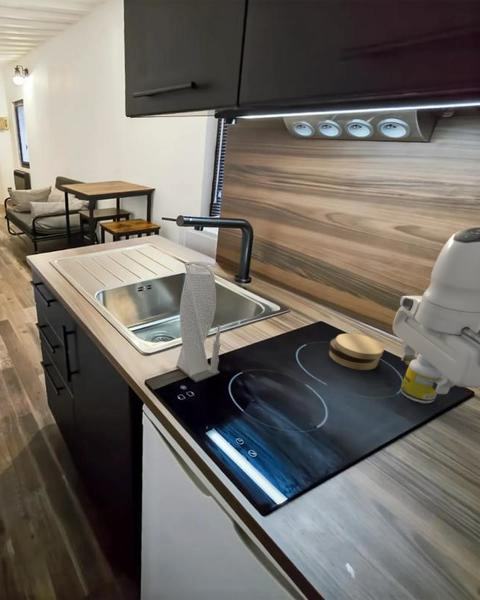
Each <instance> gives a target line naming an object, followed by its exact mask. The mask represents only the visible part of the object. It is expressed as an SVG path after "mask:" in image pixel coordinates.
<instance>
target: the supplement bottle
mask: <svg viewBox="0 0 480 600" xmlns="http://www.w3.org/2000/svg"><path fill="white" fill-rule="evenodd" d="M416 357H417V359H415V360H412V361H411V362H410V364H409V365H408V366H407V369H406V372H405V375H404V378H403V379H402V382H401V385H400V389H399V391H400V393H401V394H402V395H403V396H404V397H405V396H406V398H407V399H408V400H410V401H414V402H416V403H420V404H430V403H433V402H434V401H435V400H436V397H437V395H438V393H437V392H436V391H434V390H433V389H432V386H433V383H434V381H436V382H441V381H442V380H444V379H442V378H441V377H442V375H443V374H442V373H441V372H440V371H438V370H437V369H436V368H435V367H434V366H432V365H431V364H430V363H429V362H428V361H426V360H425V359H424V358H423V357H422V356H421V355H420V354H418V353H417V355H416Z"/></svg>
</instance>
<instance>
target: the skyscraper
mask: <svg viewBox="0 0 480 600" xmlns="http://www.w3.org/2000/svg"><path fill="white" fill-rule="evenodd" d="M184 268H185V271H186V275H185V278H184V283H183V287H182V291H181V298H180V304H179V305H180V306H179V326H180V327H179V329H180V338H181V344H182V345H181V348H180V351H179V355H178V358H177V361H176V366H175V367H176V368H177V369H179V370H180V371H181V372H182V373H184V374H185V375H186V376H187V377H188V378H189V379H191V380H193V381H194V382H195V383H198V382H200V381H203V380H206V379H208V378H210V377H214V376H216V375H218V374H220V371H219V370H218V366H219V362H220V359H219V357H220V356H219V353H220V349H221V344H222V343H221V342H220V337H221V332H220V328H221V325H220V324H219V325H217V331H216V332H215V340H214V341H213V344H212V345H213V346H212V355H211V357H210V364H209V363H208V360H207V359H208V358H207V353H206V349H205V342H206V340H207V337H208V335H209V333H210V330H211V328H212V325H213V323H214V318H215V314H216V308H217V289H216V279H215V274H214V269H215V265H214V264H213V263H212V262H211V263H210V262H205V261H188V262H185V263H184Z"/></svg>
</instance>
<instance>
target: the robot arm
mask: <svg viewBox="0 0 480 600" xmlns="http://www.w3.org/2000/svg"><path fill="white" fill-rule="evenodd" d="M399 305H400V307H398V309H397V310H396V314H395V316H394V319H393V322H392V332H393V334H394V335H395V336H397V338H399V339H400V340H401V341H402V343H401V346H402V356H401V360H400V361H402V362H403V363H404V364H405V365H407V366H409V364H410V362H411V361H412V360H415V359H417V356H416V353H417V355H418V354H420V355H421V356H422V357H423V358H424V359H425V360H426V361H428V362H429V363H430V364H431V365H432V366H434V367H435V368H436V369H437V370H438V371H440V372H441V373H442V374H443V375H442V377H441V378H442V379H443V380H442V381H441V382H436V381H434V383H433V386H432V389H433V390H434V391H436V392H437V395H446V394H449V391H450V390H451V388H453V387H454V386H456V387H460V388H470V389H471V388H473V389H477V388H480V334H478V333H479V332H480V227H479V226H477V227H470V228H469V227H468V228H464V229H462V230H459V231H457V232H455V233H454V234H452V235H451V236H450V238H448V240H447V241H446V242H445V244H444V245H443V247H442V249H441V250H440V252H439V254H438V256H437V259H436V261H435V263H434V266H433V267H432V270H431V274H430V283H429V286H428V287H427V288H426V290H425V291H424V292H423V294H422V295H403V296H402V297H401V298H400V300H399Z"/></svg>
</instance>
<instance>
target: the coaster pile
mask: <svg viewBox="0 0 480 600" xmlns="http://www.w3.org/2000/svg"><path fill="white" fill-rule="evenodd" d="M328 348H329V351H328V355H329V357H330V359H332V360H333V361H334V362H335V363H337V364H339V365H341V366H343V367H347V368H348V369H349V368H350V369H353V370H358V371H370V370H374V369H376V368H377V367H378V366H379V362H380V359H381V357H382V356H383V355H384V351H385V347H384V345H383V344H382V343H381V342H380V341H378V340H376V339H374V338H372V337H370V336H367V335H363V334H359V333H352V332H350V333H340V334H338V335H337V336H336V337H335V338H333V339H331V341H330V342H329V346H328Z"/></svg>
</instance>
